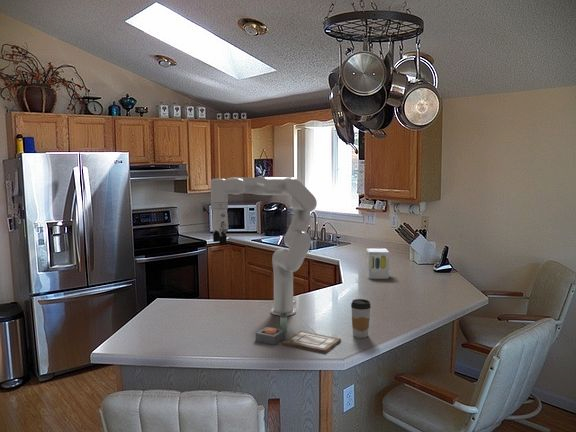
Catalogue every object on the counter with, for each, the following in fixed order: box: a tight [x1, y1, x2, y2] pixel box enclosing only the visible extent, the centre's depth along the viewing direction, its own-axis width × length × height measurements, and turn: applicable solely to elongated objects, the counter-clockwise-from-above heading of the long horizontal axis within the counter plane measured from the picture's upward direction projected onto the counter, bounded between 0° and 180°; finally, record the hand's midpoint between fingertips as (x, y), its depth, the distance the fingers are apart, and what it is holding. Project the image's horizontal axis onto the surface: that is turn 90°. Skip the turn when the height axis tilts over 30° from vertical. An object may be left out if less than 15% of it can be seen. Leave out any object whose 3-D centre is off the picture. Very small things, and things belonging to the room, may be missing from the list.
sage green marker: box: [279, 313, 288, 334], centre depth 216 cm, size 3×3×8 cm
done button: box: [264, 327, 276, 335], centre depth 206 cm, size 5×5×2 cm
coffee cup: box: [350, 298, 371, 339], centre depth 210 cm, size 8×8×15 cm
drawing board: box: [282, 330, 342, 354], centre depth 203 cm, size 15×19×1 cm
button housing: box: [255, 326, 286, 345], centre depth 206 cm, size 9×9×3 cm
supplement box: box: [365, 247, 390, 280], centre depth 320 cm, size 13×13×18 cm
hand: (219, 243), depth 225 cm, fingers open, 9 cm apart
